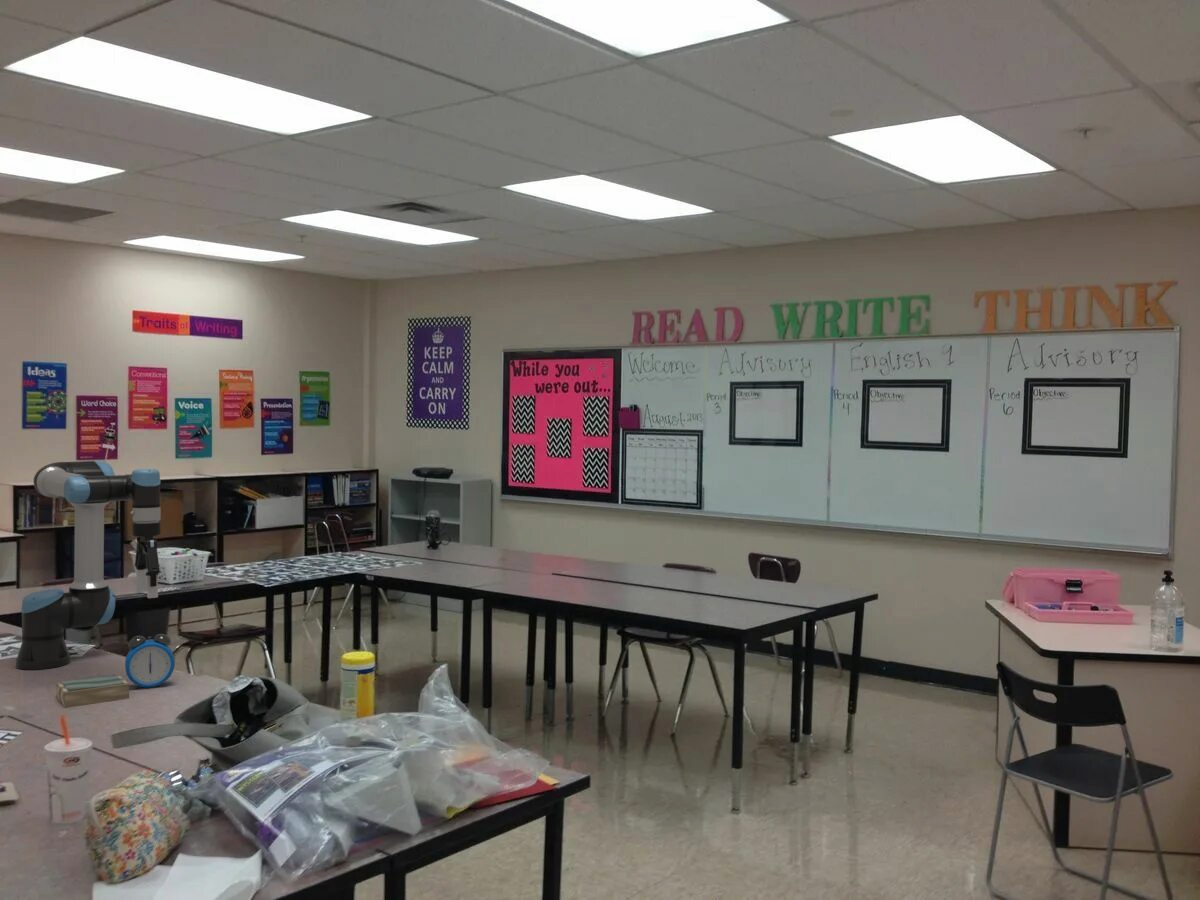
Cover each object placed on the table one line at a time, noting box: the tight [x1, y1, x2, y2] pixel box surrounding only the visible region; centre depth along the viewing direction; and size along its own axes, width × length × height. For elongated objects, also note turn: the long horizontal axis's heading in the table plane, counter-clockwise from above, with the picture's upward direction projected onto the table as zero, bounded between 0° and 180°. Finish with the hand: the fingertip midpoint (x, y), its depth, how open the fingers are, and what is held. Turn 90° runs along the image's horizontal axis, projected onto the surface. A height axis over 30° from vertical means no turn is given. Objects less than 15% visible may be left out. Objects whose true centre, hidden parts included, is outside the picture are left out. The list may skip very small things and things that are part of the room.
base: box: [56, 673, 130, 708], centre depth 286 cm, size 14×16×4 cm
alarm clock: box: [124, 633, 176, 690], centre depth 299 cm, size 13×6×15 cm, turn 116°
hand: (147, 594), depth 298 cm, fingers open, 13 cm apart
